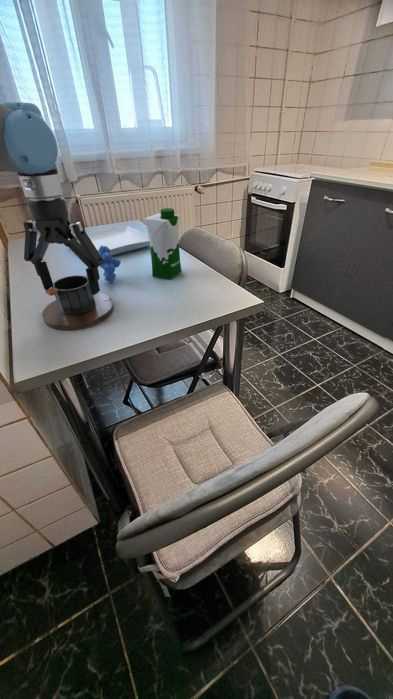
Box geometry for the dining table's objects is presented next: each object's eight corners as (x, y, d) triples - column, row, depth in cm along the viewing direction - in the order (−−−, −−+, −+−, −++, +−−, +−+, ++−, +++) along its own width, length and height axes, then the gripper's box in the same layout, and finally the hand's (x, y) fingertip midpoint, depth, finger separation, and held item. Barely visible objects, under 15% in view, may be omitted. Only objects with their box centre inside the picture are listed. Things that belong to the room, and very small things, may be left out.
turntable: (50, 338, 69) (47, 332, 68) (39, 307, 82) (37, 302, 81) (123, 317, 76) (122, 311, 75) (103, 291, 89) (101, 286, 88)
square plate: (70, 245, 125) (67, 236, 123) (128, 233, 138) (127, 224, 136) (93, 263, 108) (90, 252, 105) (157, 247, 120) (156, 237, 118)
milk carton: (171, 281, 93) (165, 213, 81) (148, 276, 97) (139, 211, 85) (185, 271, 99) (182, 207, 87) (162, 267, 103) (156, 205, 91)
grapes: (128, 286, 91) (121, 247, 84) (106, 291, 89) (97, 251, 82) (120, 273, 100) (114, 237, 92) (100, 277, 98) (91, 240, 90)
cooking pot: (108, 302, 79) (102, 278, 75) (65, 321, 72) (56, 296, 68) (89, 293, 84) (83, 270, 80) (47, 310, 77) (38, 286, 73)
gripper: (-17, 199, 62) (20, 291, 75) (88, 202, 57) (109, 301, 69) (9, 193, 68) (40, 280, 80) (107, 196, 63) (123, 288, 75)
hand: (72, 290), depth 75 cm, fingers open, 13 cm apart
